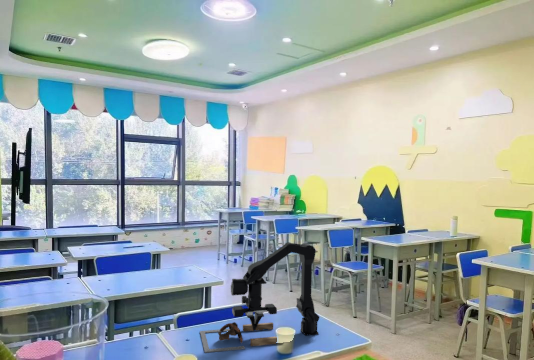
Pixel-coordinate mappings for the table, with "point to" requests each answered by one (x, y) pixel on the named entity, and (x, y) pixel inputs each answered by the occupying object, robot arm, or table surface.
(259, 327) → the holder
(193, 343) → the table surface
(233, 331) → the brown curved piece
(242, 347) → the bay
